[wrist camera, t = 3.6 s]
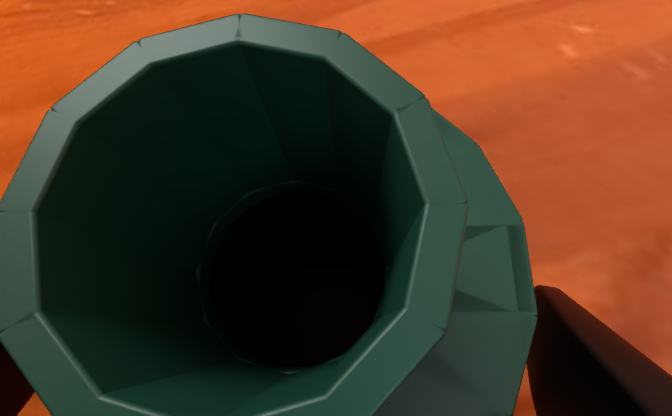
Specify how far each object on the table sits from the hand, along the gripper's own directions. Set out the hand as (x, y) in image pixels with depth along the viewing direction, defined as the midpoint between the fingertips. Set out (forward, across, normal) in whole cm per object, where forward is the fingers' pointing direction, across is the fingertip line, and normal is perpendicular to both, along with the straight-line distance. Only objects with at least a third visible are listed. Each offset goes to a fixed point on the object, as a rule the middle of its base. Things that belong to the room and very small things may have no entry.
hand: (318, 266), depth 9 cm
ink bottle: (+5, 0, +6) cm, 8 cm away
